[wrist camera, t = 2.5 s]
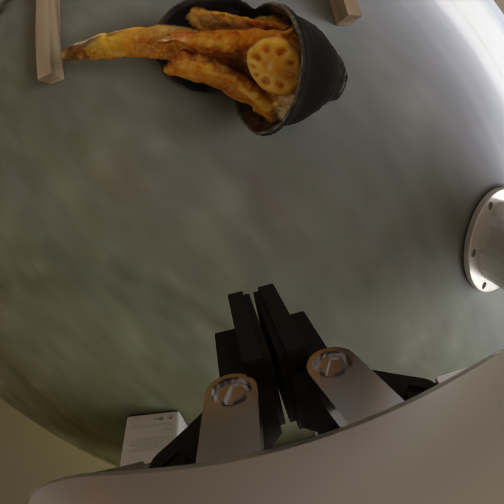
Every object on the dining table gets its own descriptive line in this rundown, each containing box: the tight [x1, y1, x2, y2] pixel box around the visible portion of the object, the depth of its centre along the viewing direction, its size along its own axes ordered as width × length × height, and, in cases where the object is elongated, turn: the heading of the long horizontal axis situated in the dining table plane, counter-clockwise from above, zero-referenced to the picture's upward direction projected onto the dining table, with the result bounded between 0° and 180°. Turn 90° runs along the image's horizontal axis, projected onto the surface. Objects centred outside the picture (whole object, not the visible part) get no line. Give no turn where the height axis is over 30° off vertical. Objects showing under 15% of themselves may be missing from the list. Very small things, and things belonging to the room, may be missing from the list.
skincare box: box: [120, 411, 188, 467], centre depth 23 cm, size 8×7×16 cm
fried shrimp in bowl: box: [61, 0, 348, 136], centre depth 16 cm, size 9×11×18 cm
